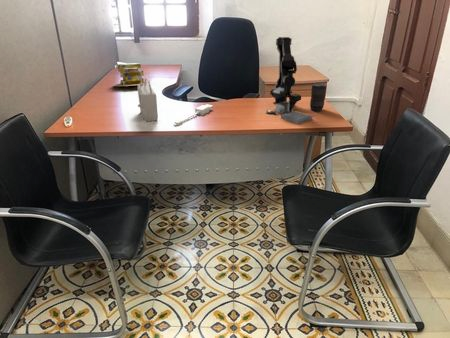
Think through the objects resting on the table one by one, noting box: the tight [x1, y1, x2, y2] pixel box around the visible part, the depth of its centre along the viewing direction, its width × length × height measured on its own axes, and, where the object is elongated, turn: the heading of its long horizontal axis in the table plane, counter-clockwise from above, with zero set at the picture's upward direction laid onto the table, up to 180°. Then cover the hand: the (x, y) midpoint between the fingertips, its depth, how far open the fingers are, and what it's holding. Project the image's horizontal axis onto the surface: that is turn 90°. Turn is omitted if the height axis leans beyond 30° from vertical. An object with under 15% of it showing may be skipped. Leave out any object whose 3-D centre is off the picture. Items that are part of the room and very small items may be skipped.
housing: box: [275, 100, 294, 115], centre depth 199 cm, size 6×8×5 cm
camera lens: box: [309, 82, 327, 112], centre depth 201 cm, size 8×8×15 cm
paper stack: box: [112, 61, 148, 89], centre depth 245 cm, size 25×25×17 cm
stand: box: [280, 110, 313, 125], centre depth 190 cm, size 12×12×2 cm
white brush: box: [173, 104, 214, 126], centre depth 192 cm, size 5×32×3 cm, turn 148°
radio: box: [137, 68, 159, 122], centre depth 187 cm, size 22×8×25 cm, turn 21°
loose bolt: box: [265, 108, 277, 115], centre depth 197 cm, size 5×3×3 cm, turn 74°
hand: (284, 109), depth 200 cm, fingers open, 9 cm apart
